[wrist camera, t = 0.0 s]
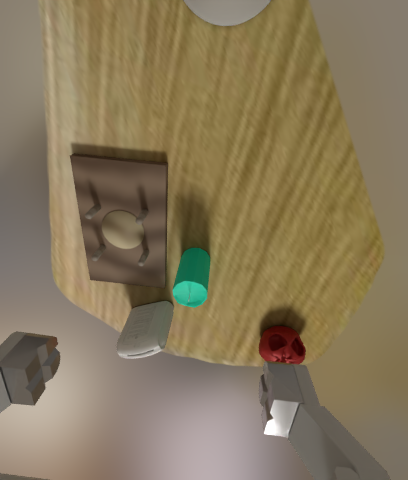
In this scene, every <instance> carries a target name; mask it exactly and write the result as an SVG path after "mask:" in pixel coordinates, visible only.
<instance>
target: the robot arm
mask: <svg viewBox="0 0 408 480" xmlns="http://www.w3.org/2000/svg"><path fill="white" fill-rule="evenodd" d="M270 1H271V0H184V2H185V3H186V4H187V6H188V7H189V8H190V9H191V10H192V11H193V12H194V13H195V14H196V15H197V16H199V17H200V18H201V19H203V20H205V21H207V22H209V23H212V24H215V25H220V26H232V25H237V24H241V23H243V22H246V21H248V20H250V19H251V18H253V17H254V16H256V15H257V14H258V13H260V12H261V11H262V10H263V9H264V8H265V7H266V6H267V5H268V3H269V2H270ZM57 344H58V342H57V338H56V337H53V336H46V335H39V334H33V333H24V332H14V333H12V334H11V335H10V336H9V337H8V338H7V339H6V340H5V341H4V342H3V343H2V344H1V345H0V413H1V412H2V411H3V410H5V409H6V408H7V407H8V406H10V405H11V403H12V404H24V405H35V404H36V402H37V401H38V399H39V398H40V396H41V395H42V393H43V392H44V390H45V382H47V381H49V380H50V379H52V378H53V376H54V375H55V373H56V372H57V369H58V366H59V364H60V352H59V351H58V350H57V349H56V348H55V347H56V346H57ZM263 372H264V374H263V375H262V376H261V378H260V383H259V398H260V403H261V405H262V406H263V411H262V422H263V429H264V434H270V435H276V436H283V437H288V440H289V441H290V443H291V444H292V446H293V447H294V449H295V450H296V452H297V453H298V455H299V457H300V458H301V460H302V461H303V463H304V464H305V466H306V467H307V469H308V470H309V472H310V473H311V475H312V477H313V478H314V480H390V477H389V475H388V473H387V471H386V470H385V469H384V468H383V467H382V466H381V465H380V464H379V463H378V462H377V461H376V460H375V459H374V458H373V457H372V456H371V455H370V454H369V453H368V452H367V450H366V449H364V447H363V446H362V445H361V444H360V443H359V442H358V441H357V440H356V439H355V438H354V437H353V436H352V435H351V434H350V433H349V432H348V431H347V430H346V429H345V428H344V427H343V425H342V424H341V423H340V422H339V421H338V420H337V419H336V418H335V417H334V416H333V415H332V414H331V413H330V412H329V411H328V410H327V409H326V408H325V407H323V406H320V404H319V401H318V398H317V395H316V392H315V389H314V386H313V384H312V380H311V378H310V375H309V372H308V369H307V367H306V366H305V365H300V364H291V363H282V362H272V361H265V362H264V366H263ZM0 480H48V479H40V478H32V477H25V476H17V475H9V474H1V473H0Z"/></svg>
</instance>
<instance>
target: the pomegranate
mask: <svg viewBox="0 0 408 480" xmlns="http://www.w3.org/2000/svg"><path fill="white" fill-rule="evenodd" d="M305 352H306V349H305V347H304V345H303V343H302V341H301V339H300V337H299V335H298V333H297V332H296V331H295V330H293V329H292V328H289V327H284V326H274V327H271V328H269V329H267V330H266V331H264V333H263V335H262V337H261V339H260V343H259V353H260V355H261V357H262V358H263V359H264V360H265V361H272V362H282V363H291V364H300V363H302V362H303V360H304V359H305Z"/></svg>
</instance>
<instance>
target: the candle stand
mask: <svg viewBox="0 0 408 480" xmlns="http://www.w3.org/2000/svg"><path fill="white" fill-rule="evenodd" d="M70 159H71V165H72V171H73V177H74V183H75V189H76V196H77V202H78V208H79V214H80V220H81V226H82V232H83V238H84V244H85V251H86V257H87V263H88V269H89V275H90V280H96V281H105V282H114V283H123V284H132V285H140V286H149V287H158V288H165V286H166V259H167V190H168V163H161V162H151V161H142V160H132V159H122V158H112V157H102V156H92V155H83V154H73V155H70Z"/></svg>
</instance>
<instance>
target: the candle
mask: <svg viewBox="0 0 408 480" xmlns="http://www.w3.org/2000/svg"><path fill="white" fill-rule="evenodd" d="M209 270H210V256H209V255H208V253H207V252H206V251H204V250H202V249H201V248H190V249H188V250H186V251H185V252H184V253H183V255H182V256H181V260H180V264H179V268H178V272H177V275H176V279H175V283H174V287H173V296H174V297H175V299H176V301H177V302H178V303H179V304H182V305H185V306H189V307H194V308H195V307H197V306H199V305H202V304H203V303H204V301H205V300H206V299H207V291H208V281H209Z"/></svg>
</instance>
